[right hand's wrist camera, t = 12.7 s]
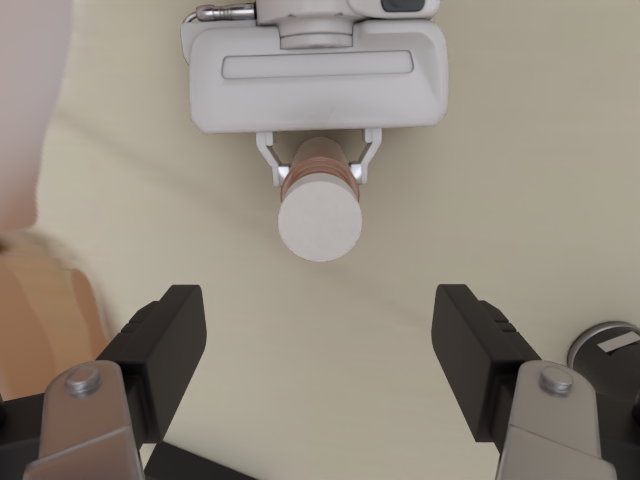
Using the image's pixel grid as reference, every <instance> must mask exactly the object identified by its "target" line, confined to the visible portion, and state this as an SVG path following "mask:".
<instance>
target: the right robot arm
mask: <svg viewBox="0 0 640 480" xmlns="http://www.w3.org/2000/svg"><path fill="white" fill-rule="evenodd" d="M431 336H432V345H433V348H434V351H435V354H436V356H437V358H438V360H439V362H440V364H441V367H442V369H443V371H444V373H445V375H446V378H447V380H448V382H449V384H450V386H451V389H452V391H453V393H454V395H455V397H456V400H457V402H458V404H459V406H460V408H461V411H462V413H463V415H464V417H465V419H466V421H467V424H468V426H469V428H470V430H471V432H472V435H473V437H474V439H475V441H476V442H494V443H495V445H496V447H497V449H498V451H499V453H500V456H499V461H498V465H497V470H496V476H495V480H640V329H638V328H637V327H635V326H634V325H632V324H629V323H625V322H609V323H604V324H601V325H598V326H596V327H593V328H591V329H590V330H588V331H586V332H585V333H584V334H583V335H581V336H580V337H579V338H578V339H577V340H576V342H575V343H574V344H573V346H572V348H571V350H570V352H569V355H568V367H569V368H568V367H566V366H563V365H560V364H558V363H554V362H550V361H543V360H542V359H541V358H540V357H539V356H538V354H537V353H536V352H535V351H534V350H533V349H532V347H531V346H530V345H529V344H528V343H527V342H526V340H525V339H524V338H523V337H522V336H521V335H520V333H519V332H516V329H515V328H514V326H513V325H512V324H511V323H509V321H508V319H507V318H506V317H505V316H504V315H503V314H502V312H501V311H500V310H499V309H497V308H496V307H494V306H492V305H491V304H489V303H487V302H486V301H479V300H478V299H477V298H476V297H475V295H474V294H473V293H472V292H471V290H470V289H469V288H468V287H467V285H465V284H439V285H438V287H437V290H436V297H435V305H434V313H433V321H432V330H431ZM206 338H207V330H206V322H205V314H204V305H203V297H202V291H201V288H200V286H199V285H172V286H171V287H170V288H169V289H168V291H167V292H166V293H165V294H164V296H163V297H162V298H161V299H160V301H153V302H151V303H149V304H148V305H146V306H145V307H143V308H141V309H140V310H138V311H137V312H136V314H135V315H134V316H133V317H132V318H131V319H130V321H129V324H126V325H125V326H124V327H123V329H122V330H121V333H118V334H117V336H116V337H115V338H114V339H113V340H112V341H111V342H110V344H109V345H108V346H107V347H106V348H105V349H104V351H103V352H102V353H101V354H100V355H99V356H98V358H97V359H96V360H95V361H90V362H86V363H82V364H80V365H77V366H74V367H72V368H70V369H68V370H66V371H64V372H63V373H61V374H60V375H58V376H57V377H56V378H55V379H54V380H53V381H51V382H50V384H49V385H48V386H47V388H46V390H45V393H41V394H37V395H32V396H28V397H23V398H18V399H13V400H9V401H4V402H3V400H2V397H1V394H0V480H145V476H144V470H143V465H142V461H141V456H140V452H139V450H140V448H141V446H142V444H143V443H162V441H163V438H164V436H165V434H166V432H167V430H168V428H169V425H170V423H171V421H172V419H173V417H174V415H175V412H176V410H177V408H178V406H179V404H180V402H181V399H182V397H183V395H184V393H185V391H186V389H187V387H188V384H189V382H190V380H191V378H192V376H193V374H194V371H195V369H196V367H197V365H198V363H199V361H200V358H201V356H202V354H203V352H204V349H205V345H206Z"/></svg>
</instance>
